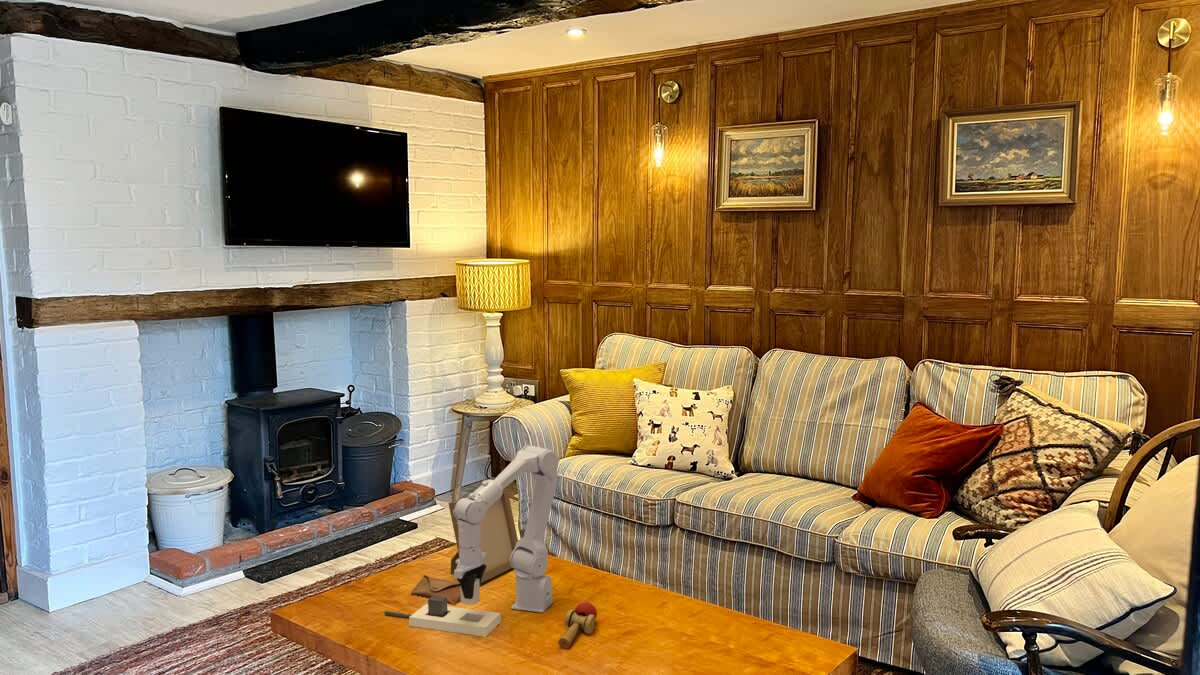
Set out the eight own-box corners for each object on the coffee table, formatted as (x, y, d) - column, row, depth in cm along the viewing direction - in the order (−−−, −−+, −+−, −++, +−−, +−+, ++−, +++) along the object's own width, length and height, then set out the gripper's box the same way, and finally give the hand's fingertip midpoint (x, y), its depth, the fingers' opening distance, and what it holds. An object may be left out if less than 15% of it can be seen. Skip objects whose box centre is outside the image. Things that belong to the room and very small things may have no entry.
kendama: (582, 656, 215) (605, 617, 232) (576, 633, 214) (600, 595, 230) (553, 657, 218) (579, 618, 234) (547, 634, 217) (573, 597, 233)
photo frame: (522, 565, 273) (520, 487, 271) (476, 588, 255) (473, 504, 252) (486, 557, 281) (484, 480, 279) (438, 579, 263) (435, 497, 261)
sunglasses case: (405, 594, 251) (412, 571, 254) (419, 599, 257) (426, 576, 259) (456, 605, 243) (462, 581, 245) (469, 610, 248) (476, 586, 251)
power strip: (500, 622, 232) (500, 598, 231) (485, 636, 223) (485, 612, 223) (394, 608, 242) (393, 585, 241) (376, 621, 233) (375, 597, 233)
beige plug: (479, 600, 230) (479, 578, 229) (474, 605, 227) (474, 582, 226) (466, 598, 231) (465, 576, 230) (460, 603, 228) (460, 581, 227)
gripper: (468, 534, 235) (470, 583, 237) (442, 552, 222) (444, 604, 223) (492, 537, 233) (494, 586, 234) (467, 555, 219) (469, 607, 221)
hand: (471, 595), depth 229 cm, fingers closed on beige plug, 3 cm apart
